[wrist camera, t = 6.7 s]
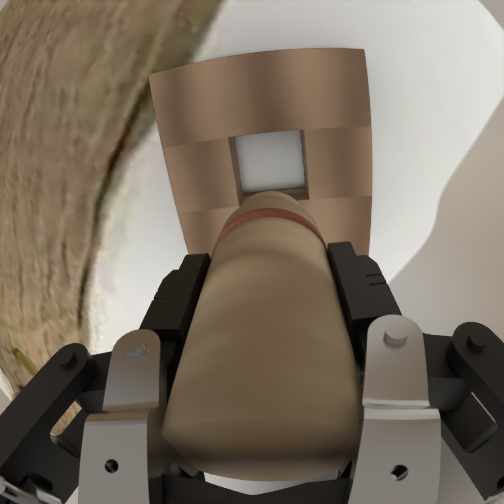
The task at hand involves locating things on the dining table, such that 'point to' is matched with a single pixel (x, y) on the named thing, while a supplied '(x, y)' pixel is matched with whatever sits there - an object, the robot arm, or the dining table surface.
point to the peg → (266, 354)
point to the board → (262, 121)
